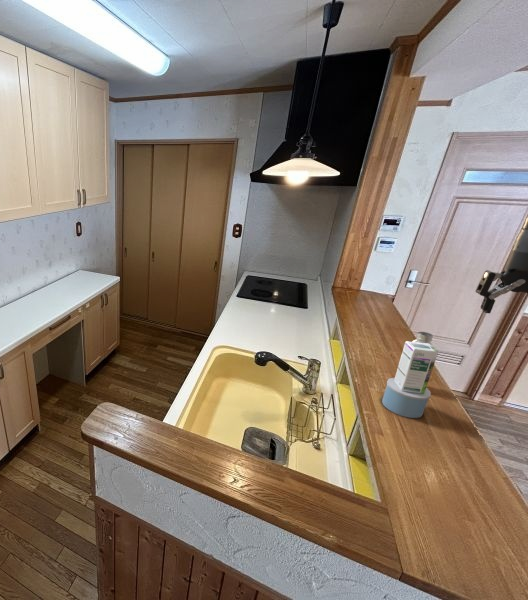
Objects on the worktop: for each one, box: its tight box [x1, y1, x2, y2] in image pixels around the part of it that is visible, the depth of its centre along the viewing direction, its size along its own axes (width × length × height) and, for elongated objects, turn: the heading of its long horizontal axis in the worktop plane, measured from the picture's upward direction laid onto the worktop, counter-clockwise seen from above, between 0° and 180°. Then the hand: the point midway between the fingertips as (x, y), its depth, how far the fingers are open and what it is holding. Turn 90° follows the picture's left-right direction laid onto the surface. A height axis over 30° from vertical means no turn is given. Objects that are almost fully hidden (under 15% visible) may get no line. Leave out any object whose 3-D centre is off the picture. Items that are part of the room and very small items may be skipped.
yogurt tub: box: [381, 377, 432, 419], centre depth 100 cm, size 10×10×8 cm
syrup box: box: [394, 340, 439, 394], centre depth 97 cm, size 6×6×14 cm
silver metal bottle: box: [411, 331, 434, 346], centre depth 109 cm, size 6×7×20 cm
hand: (509, 314), depth 79 cm, fingers open, 8 cm apart
